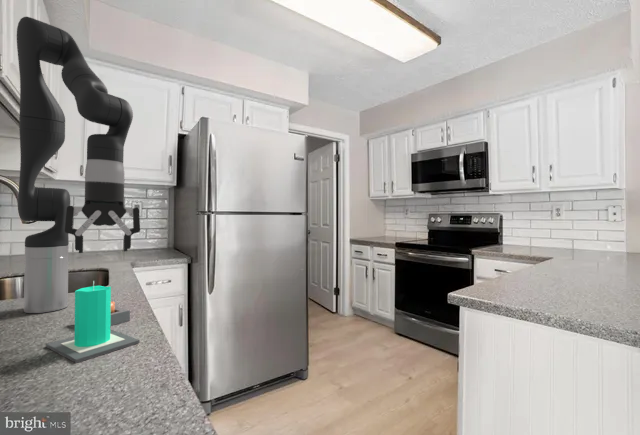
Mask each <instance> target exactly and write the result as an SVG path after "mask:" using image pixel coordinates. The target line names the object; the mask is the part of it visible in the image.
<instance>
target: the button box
mask: <svg viewBox="0 0 640 435" xmlns="http://www.w3.org/2000/svg"><path fill="white" fill-rule="evenodd" d="M130 320H131V311H130V309H125V308H122V307H119V306H116V305H115V312H114V313H111V324H110V327H111V326H114V325H118V324H119V325H120V324H122V323H128V322H129V321H130Z"/></svg>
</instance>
